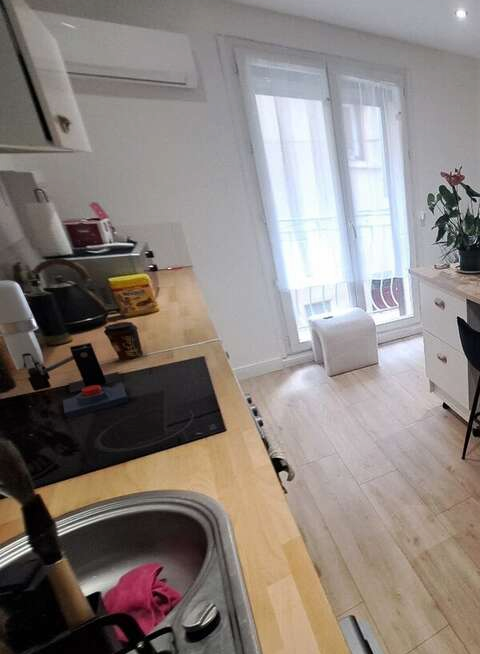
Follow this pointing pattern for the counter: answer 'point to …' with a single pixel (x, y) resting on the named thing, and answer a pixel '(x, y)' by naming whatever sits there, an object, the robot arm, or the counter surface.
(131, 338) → the coffee cup
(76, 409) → the igniter
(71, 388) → the lever bracket
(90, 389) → the igniter button
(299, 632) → the counter surface
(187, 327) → the counter surface
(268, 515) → the counter surface
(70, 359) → the lever
